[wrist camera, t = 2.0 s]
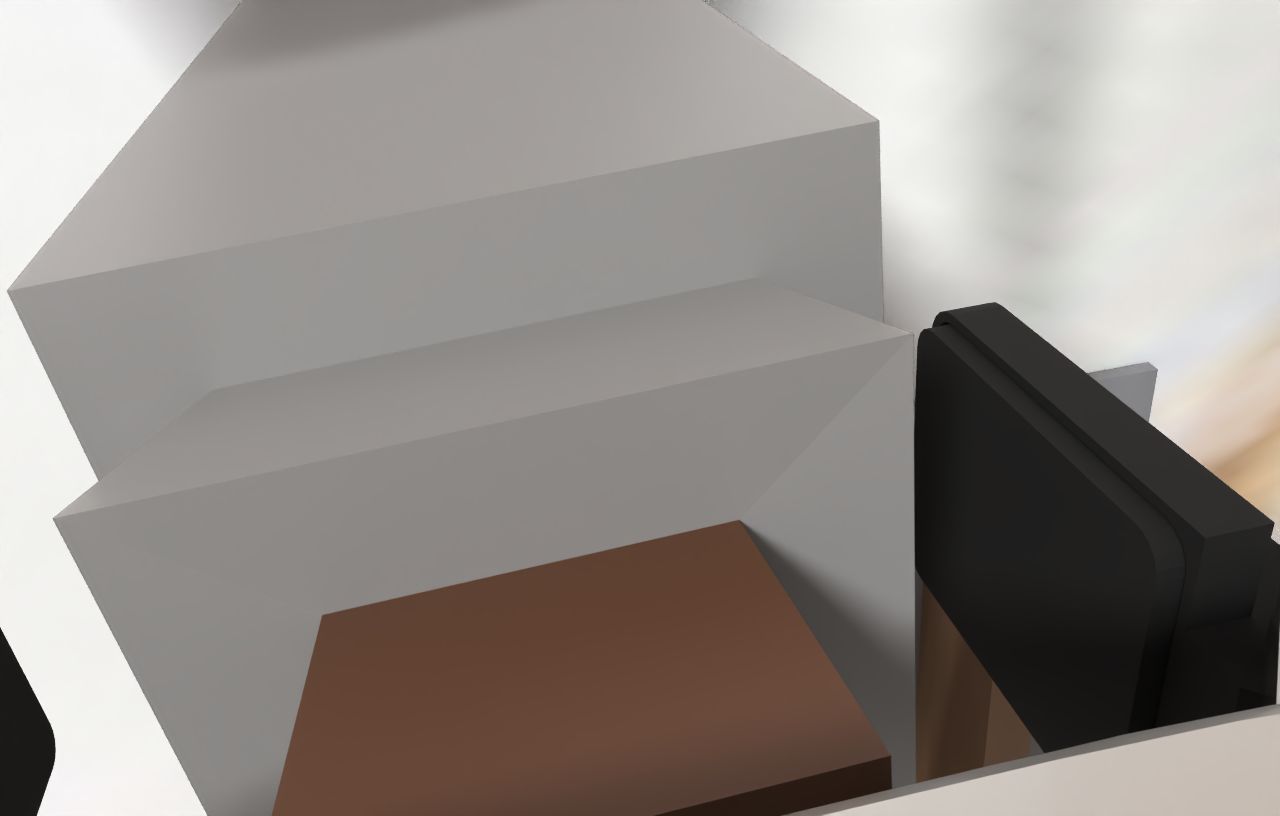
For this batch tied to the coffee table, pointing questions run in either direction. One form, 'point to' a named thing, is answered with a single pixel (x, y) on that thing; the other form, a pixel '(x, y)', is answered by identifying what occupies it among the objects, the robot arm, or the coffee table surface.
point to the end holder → (956, 680)
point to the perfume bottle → (495, 416)
